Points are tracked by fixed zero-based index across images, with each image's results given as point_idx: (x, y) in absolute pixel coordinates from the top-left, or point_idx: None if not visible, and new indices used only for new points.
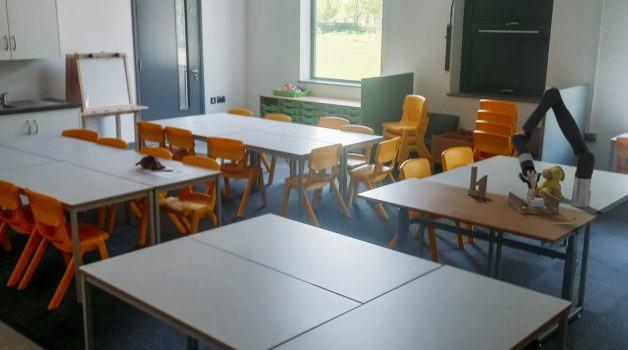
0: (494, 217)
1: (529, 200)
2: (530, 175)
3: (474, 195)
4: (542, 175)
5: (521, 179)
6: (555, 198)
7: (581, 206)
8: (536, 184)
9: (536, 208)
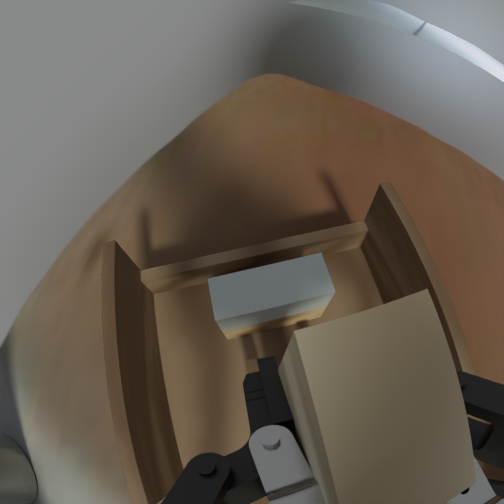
0: (449, 194)
1: (329, 276)
2: (441, 413)
3: None
4: None
5: (493, 426)
6: (115, 281)
7: (6, 438)
8: (257, 402)
9: (278, 240)
